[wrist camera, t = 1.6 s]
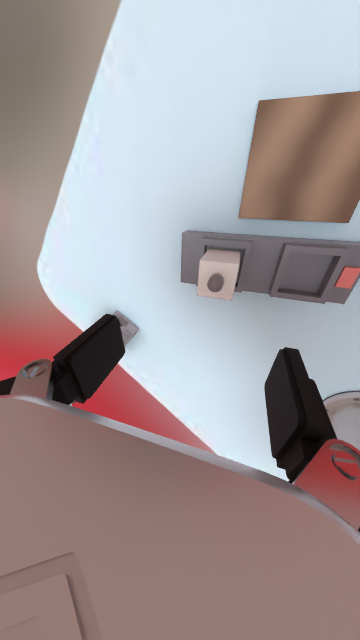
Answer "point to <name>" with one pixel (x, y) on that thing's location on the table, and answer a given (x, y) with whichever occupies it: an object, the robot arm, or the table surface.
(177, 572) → the robot arm
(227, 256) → the plug
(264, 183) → the walnut mat
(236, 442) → the table surface
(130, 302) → the table surface
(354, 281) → the power strip
